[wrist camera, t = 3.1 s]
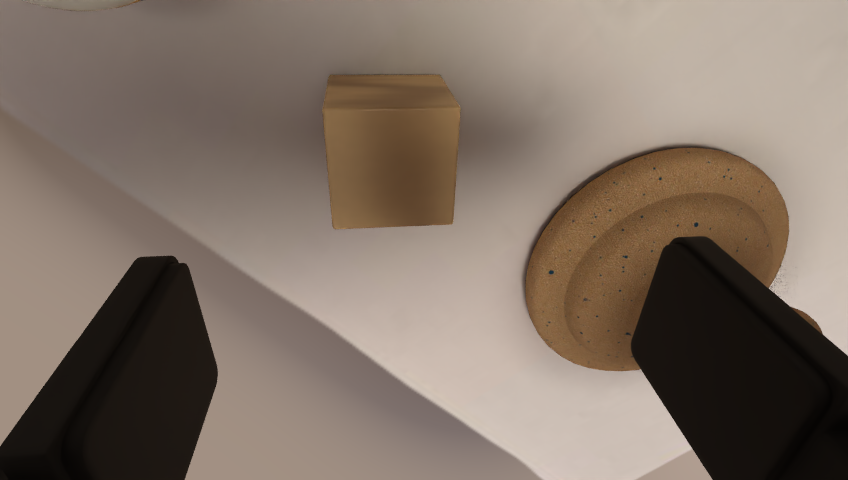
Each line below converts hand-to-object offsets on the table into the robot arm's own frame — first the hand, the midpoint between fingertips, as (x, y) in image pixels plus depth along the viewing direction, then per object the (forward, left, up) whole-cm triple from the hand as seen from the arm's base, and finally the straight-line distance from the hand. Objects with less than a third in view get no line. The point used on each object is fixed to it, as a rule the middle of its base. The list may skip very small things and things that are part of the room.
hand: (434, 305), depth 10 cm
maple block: (0, 0, -10) cm, 10 cm away
